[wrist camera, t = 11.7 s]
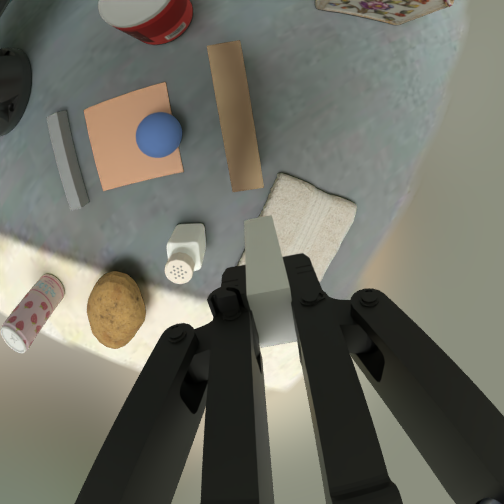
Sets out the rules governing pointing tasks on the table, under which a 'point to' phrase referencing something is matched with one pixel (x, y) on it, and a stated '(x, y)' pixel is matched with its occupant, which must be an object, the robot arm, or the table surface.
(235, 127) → the bridge
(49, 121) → the grey long bar
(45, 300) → the beverage can
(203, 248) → the salt shaker
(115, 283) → the potato
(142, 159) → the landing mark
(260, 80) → the table surface
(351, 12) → the decorative jar
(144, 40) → the canned food
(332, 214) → the washcloth
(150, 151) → the ball
